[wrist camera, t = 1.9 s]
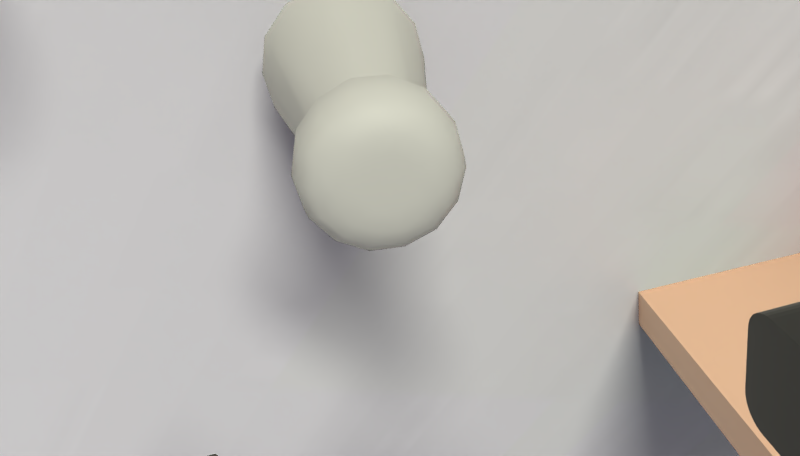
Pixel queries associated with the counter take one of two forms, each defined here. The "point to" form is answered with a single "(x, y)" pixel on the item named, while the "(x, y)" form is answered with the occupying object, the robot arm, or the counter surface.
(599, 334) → the counter surface
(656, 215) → the counter surface
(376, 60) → the salt shaker
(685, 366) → the tile
